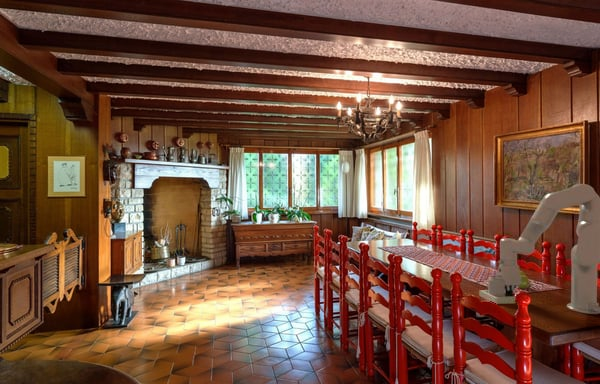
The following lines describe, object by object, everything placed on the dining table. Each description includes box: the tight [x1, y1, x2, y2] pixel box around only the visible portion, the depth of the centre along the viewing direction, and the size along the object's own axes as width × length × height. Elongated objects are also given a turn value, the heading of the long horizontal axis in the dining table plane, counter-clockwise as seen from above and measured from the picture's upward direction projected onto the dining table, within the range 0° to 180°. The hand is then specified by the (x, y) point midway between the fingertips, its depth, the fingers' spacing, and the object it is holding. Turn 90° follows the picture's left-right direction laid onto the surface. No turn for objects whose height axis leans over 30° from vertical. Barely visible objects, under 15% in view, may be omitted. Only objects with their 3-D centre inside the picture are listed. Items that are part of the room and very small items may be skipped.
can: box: [487, 275, 506, 297], centre depth 184 cm, size 8×8×12 cm
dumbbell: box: [517, 270, 531, 289], centre depth 212 cm, size 16×8×7 cm, turn 155°
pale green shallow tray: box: [478, 289, 516, 305], centre depth 184 cm, size 13×11×3 cm
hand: (509, 297), depth 184 cm, fingers closed
